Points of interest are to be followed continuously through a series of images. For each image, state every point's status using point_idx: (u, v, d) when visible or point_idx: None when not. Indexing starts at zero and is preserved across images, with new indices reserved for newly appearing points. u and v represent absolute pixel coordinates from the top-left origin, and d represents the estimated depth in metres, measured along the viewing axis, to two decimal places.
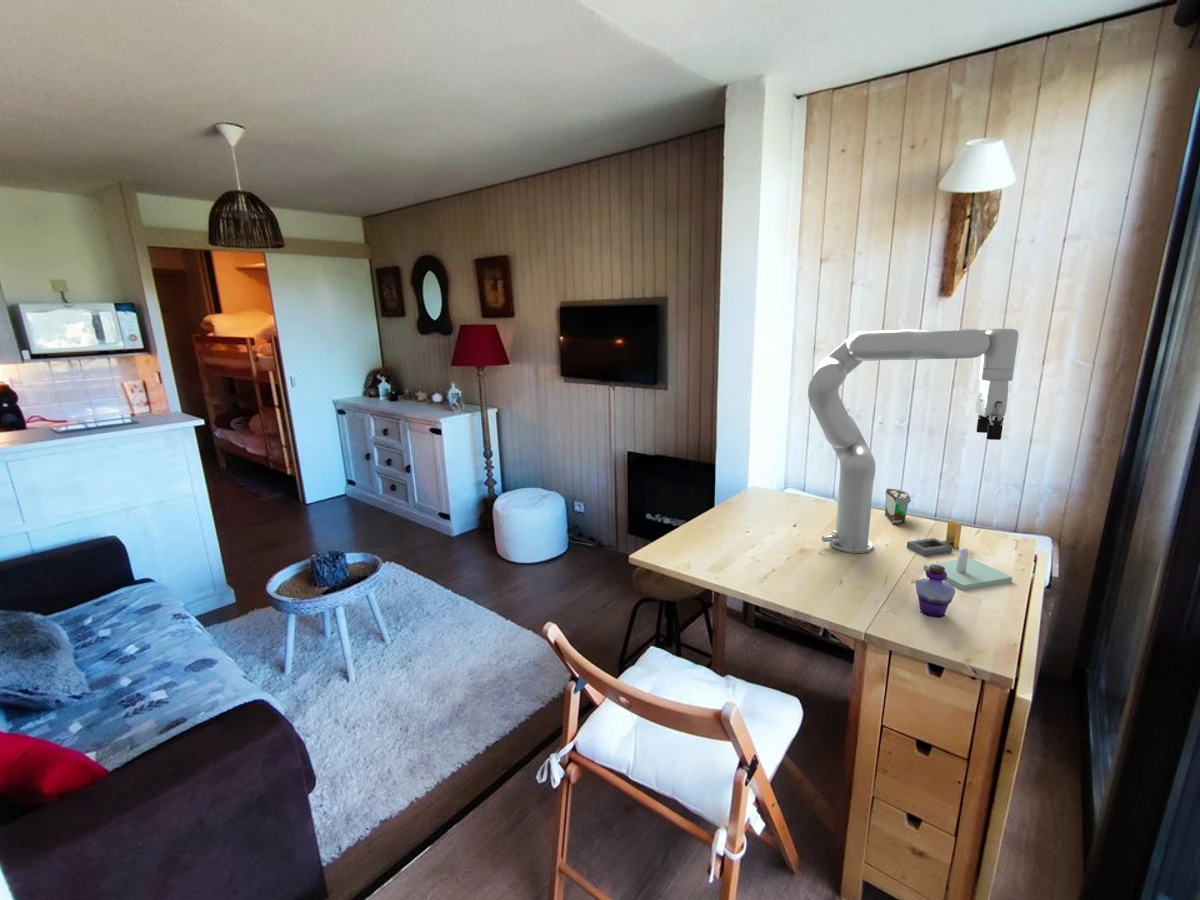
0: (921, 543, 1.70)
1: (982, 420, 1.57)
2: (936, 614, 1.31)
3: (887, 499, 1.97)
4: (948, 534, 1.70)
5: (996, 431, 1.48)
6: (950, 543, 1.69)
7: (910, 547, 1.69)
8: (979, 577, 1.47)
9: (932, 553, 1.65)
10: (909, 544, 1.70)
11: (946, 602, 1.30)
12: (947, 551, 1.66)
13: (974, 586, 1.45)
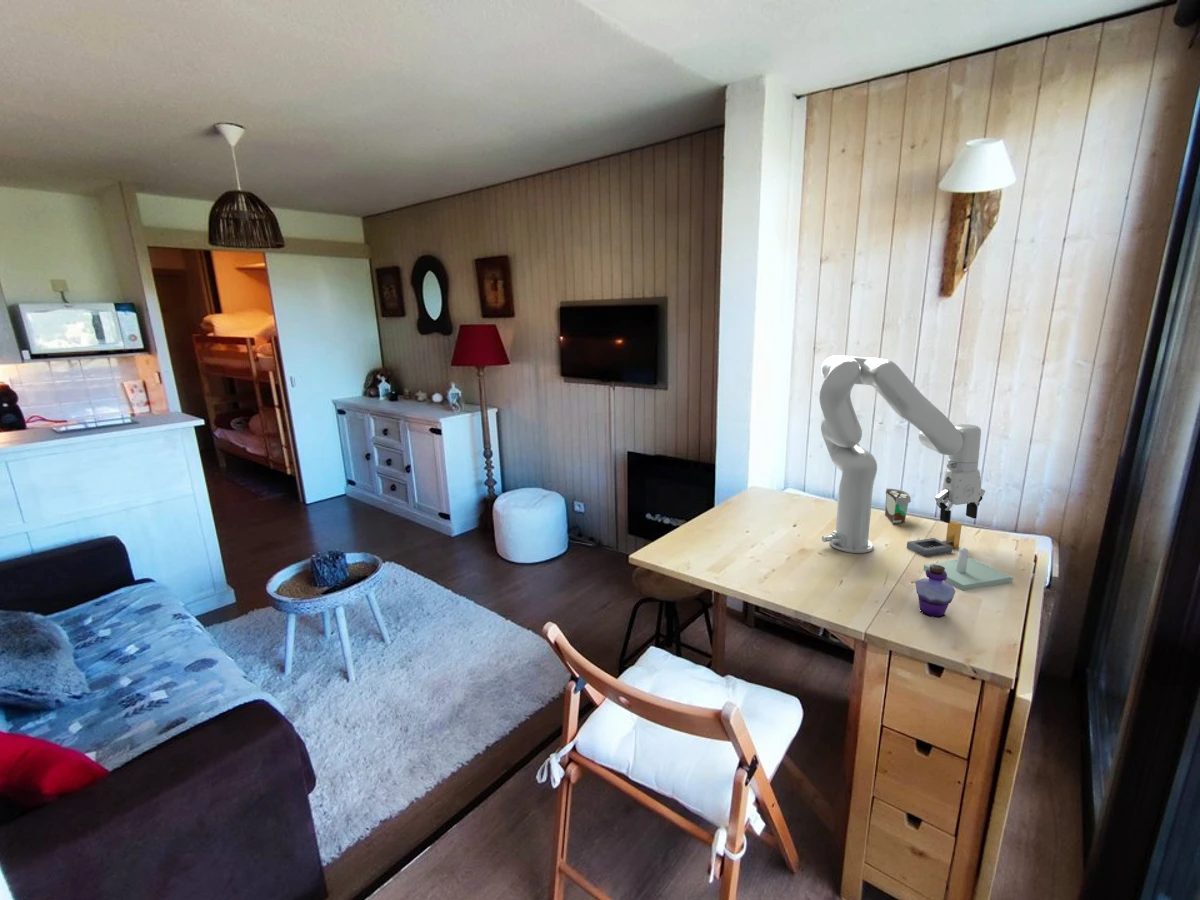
0: (921, 543, 1.70)
1: None
2: (936, 614, 1.31)
3: (887, 499, 1.97)
4: (948, 534, 1.70)
5: None
6: (950, 543, 1.69)
7: (910, 547, 1.69)
8: (979, 577, 1.47)
9: (932, 553, 1.65)
10: (909, 544, 1.70)
11: (946, 602, 1.30)
12: (947, 551, 1.66)
13: (974, 586, 1.45)
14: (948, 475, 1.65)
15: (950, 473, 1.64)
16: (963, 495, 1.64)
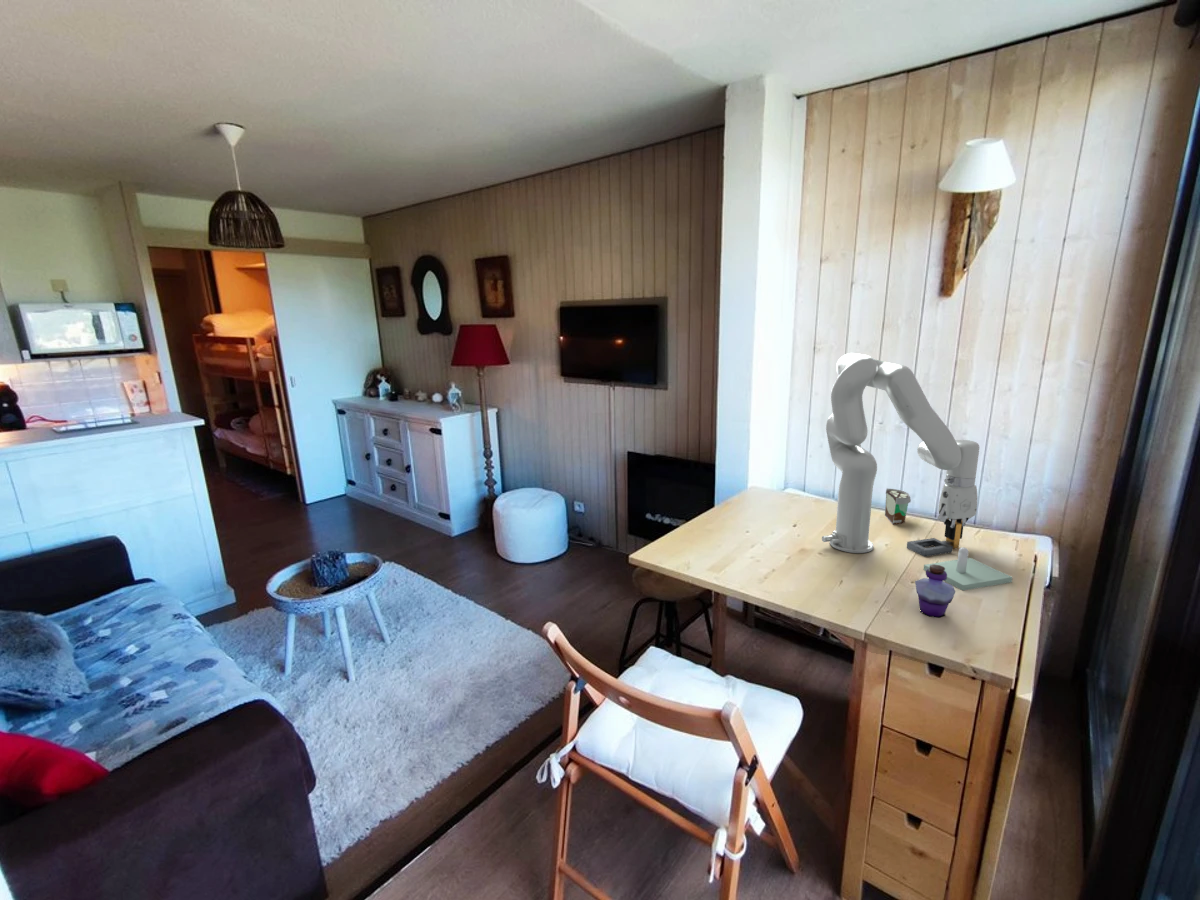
0: (921, 543, 1.70)
1: None
2: (936, 614, 1.31)
3: (887, 499, 1.97)
4: None
5: None
6: (950, 543, 1.69)
7: (910, 547, 1.69)
8: (979, 577, 1.47)
9: (932, 553, 1.65)
10: (909, 544, 1.70)
11: (946, 602, 1.30)
12: (947, 551, 1.66)
13: (974, 586, 1.45)
14: (945, 490, 1.66)
15: (947, 488, 1.65)
16: (959, 510, 1.65)
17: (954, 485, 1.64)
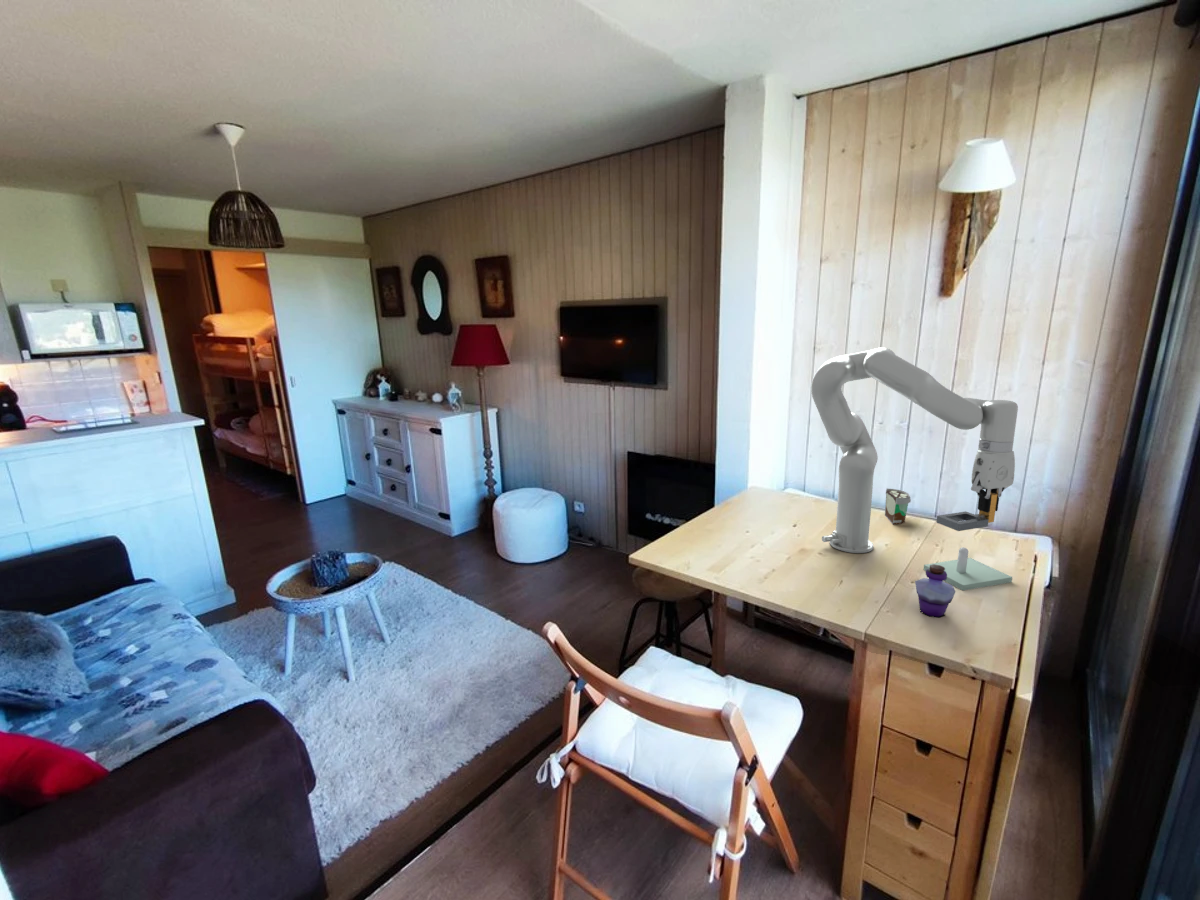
0: (952, 517, 1.52)
1: None
2: (936, 614, 1.31)
3: (887, 499, 1.97)
4: None
5: None
6: (984, 516, 1.52)
7: (941, 521, 1.52)
8: (979, 577, 1.47)
9: (966, 527, 1.47)
10: (939, 518, 1.52)
11: (946, 602, 1.30)
12: (982, 525, 1.48)
13: (974, 586, 1.45)
14: (979, 456, 1.48)
15: (982, 454, 1.47)
16: (996, 478, 1.47)
17: (990, 450, 1.46)
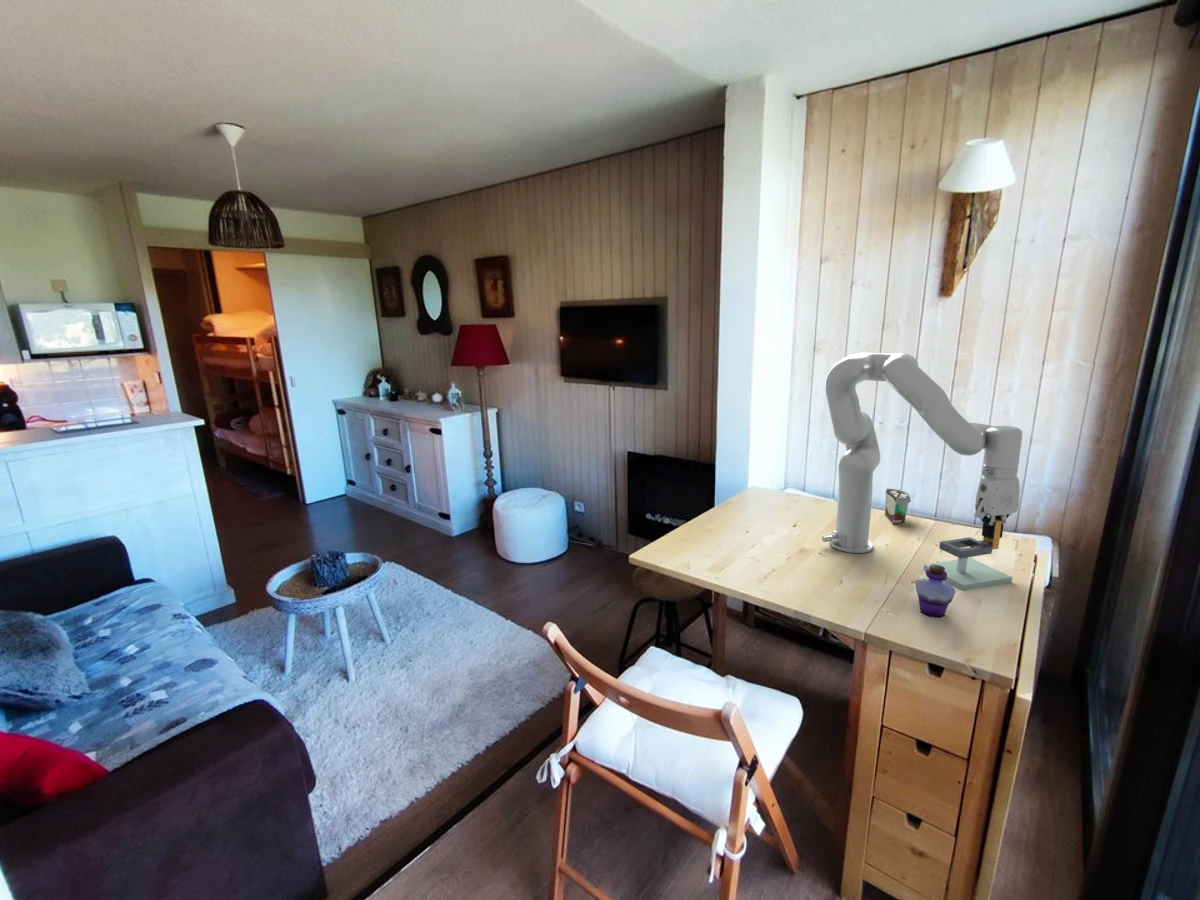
0: (956, 543, 1.51)
1: None
2: (936, 614, 1.31)
3: (887, 499, 1.97)
4: None
5: None
6: (989, 543, 1.50)
7: (943, 548, 1.50)
8: (979, 577, 1.47)
9: (969, 554, 1.45)
10: (942, 544, 1.50)
11: (946, 602, 1.30)
12: (986, 552, 1.47)
13: (974, 586, 1.45)
14: (983, 482, 1.46)
15: (986, 480, 1.46)
16: (1000, 505, 1.45)
17: (993, 477, 1.45)
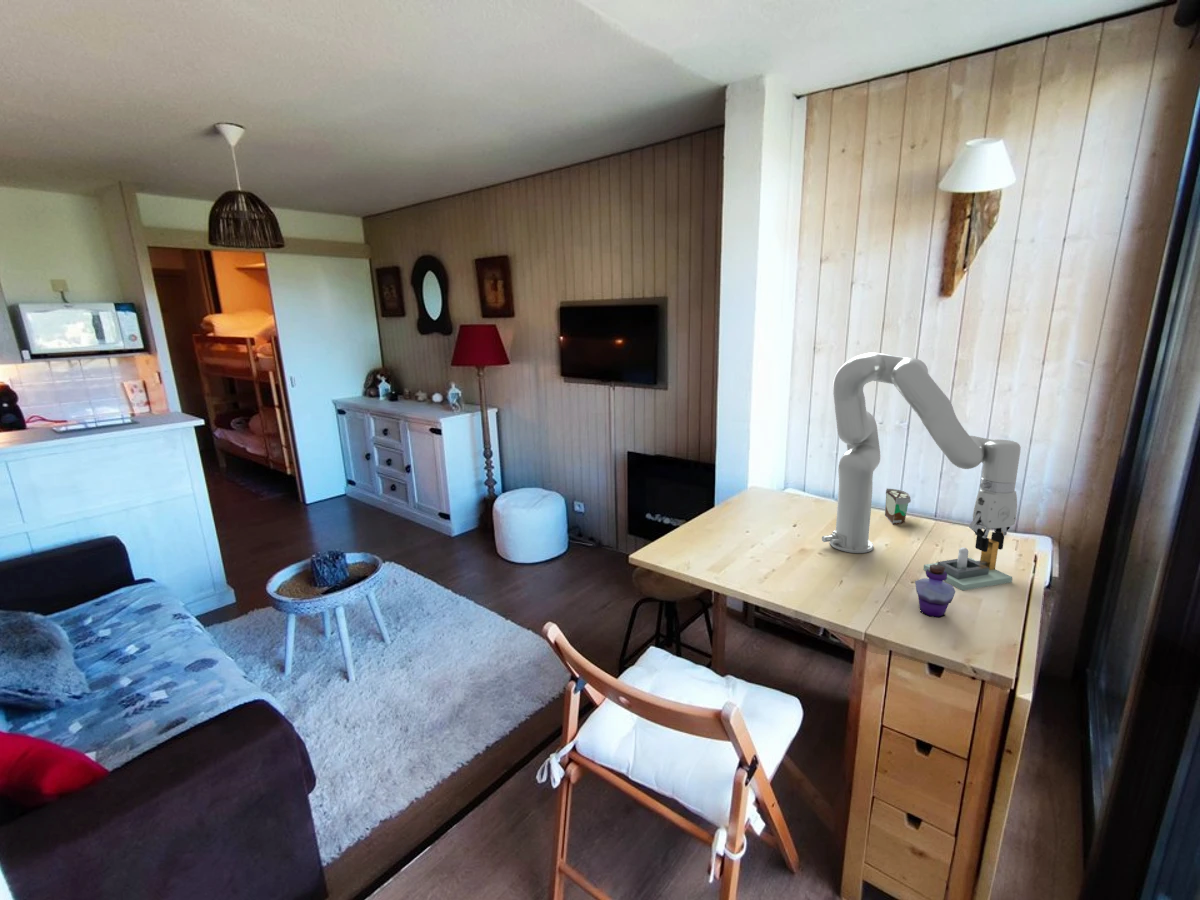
0: (953, 563, 1.53)
1: None
2: (936, 614, 1.31)
3: (887, 499, 1.97)
4: (983, 553, 1.53)
5: None
6: (985, 563, 1.52)
7: None
8: (979, 577, 1.47)
9: (967, 575, 1.47)
10: (940, 565, 1.52)
11: (946, 602, 1.30)
12: (983, 573, 1.48)
13: (974, 586, 1.45)
14: (981, 496, 1.47)
15: (983, 494, 1.47)
16: (997, 519, 1.46)
17: (991, 491, 1.45)
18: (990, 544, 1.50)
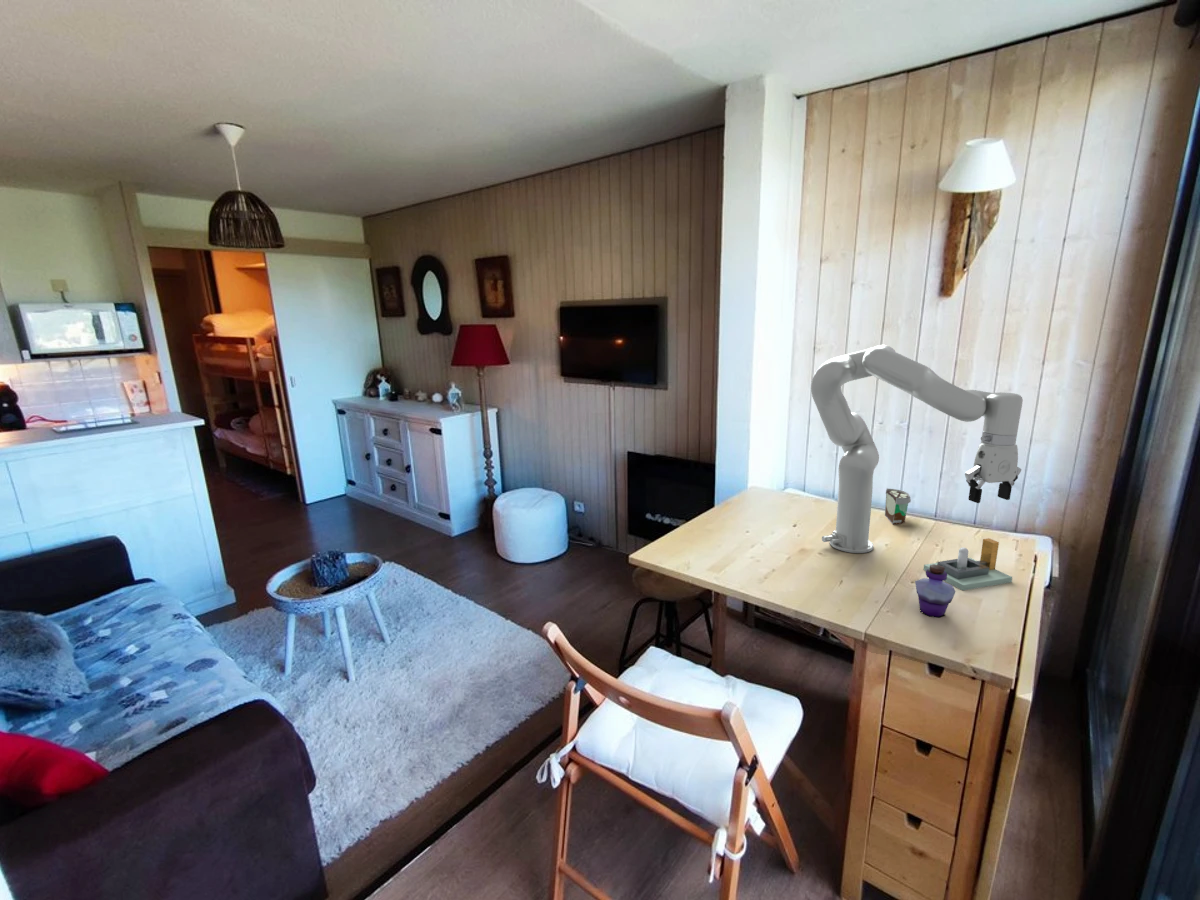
0: (953, 563, 1.53)
1: None
2: (936, 614, 1.31)
3: (887, 499, 1.97)
4: (983, 553, 1.53)
5: None
6: (985, 563, 1.52)
7: None
8: (979, 577, 1.47)
9: (967, 575, 1.47)
10: (940, 565, 1.52)
11: (946, 602, 1.30)
12: (983, 573, 1.48)
13: (974, 586, 1.45)
14: (981, 449, 1.46)
15: (984, 447, 1.46)
16: (997, 472, 1.45)
17: (992, 443, 1.44)
18: (990, 544, 1.50)
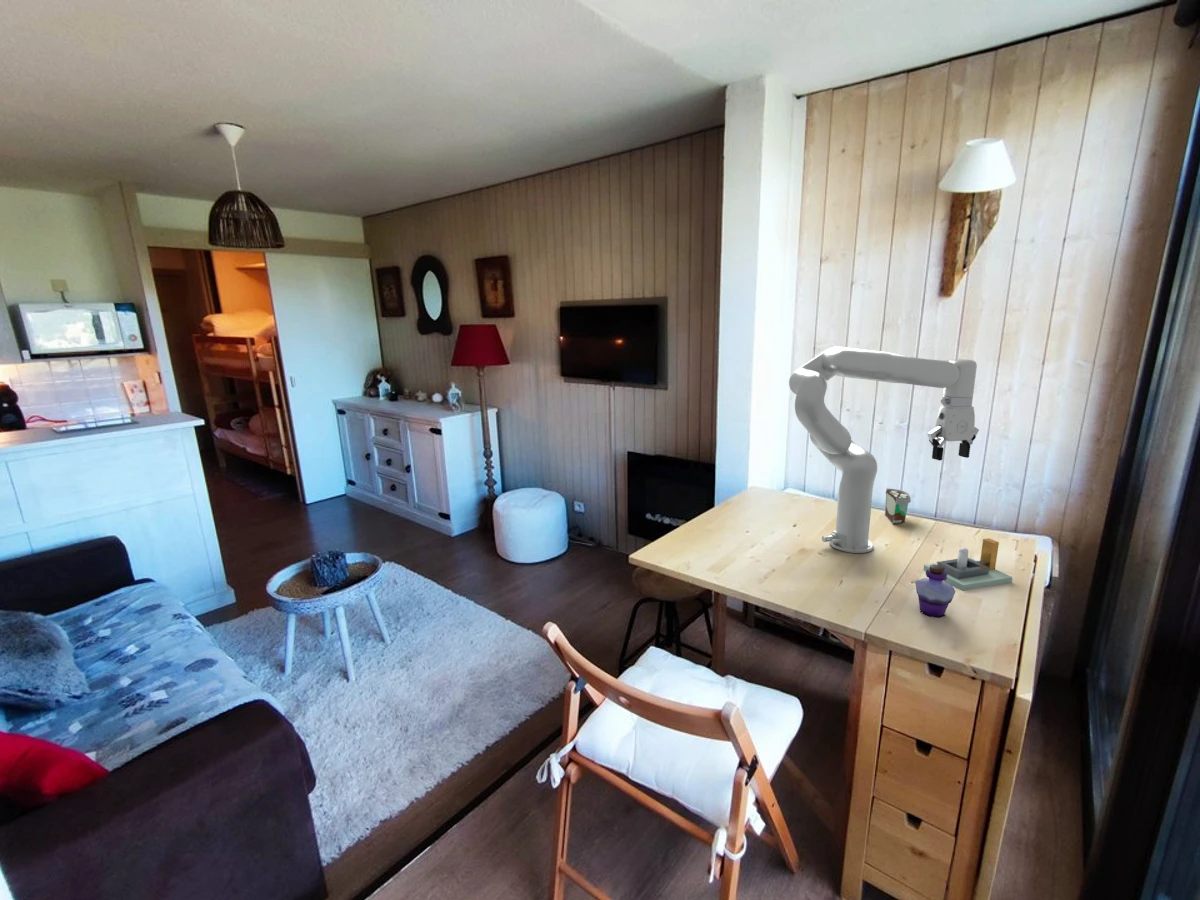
0: (953, 563, 1.53)
1: None
2: (936, 614, 1.31)
3: (887, 499, 1.97)
4: (983, 553, 1.53)
5: None
6: (985, 563, 1.52)
7: None
8: (979, 577, 1.47)
9: (967, 575, 1.47)
10: (940, 565, 1.52)
11: (946, 602, 1.30)
12: (983, 573, 1.48)
13: (974, 586, 1.45)
14: (942, 411, 1.62)
15: (944, 409, 1.61)
16: (956, 431, 1.60)
17: (951, 405, 1.60)
18: (990, 544, 1.50)
